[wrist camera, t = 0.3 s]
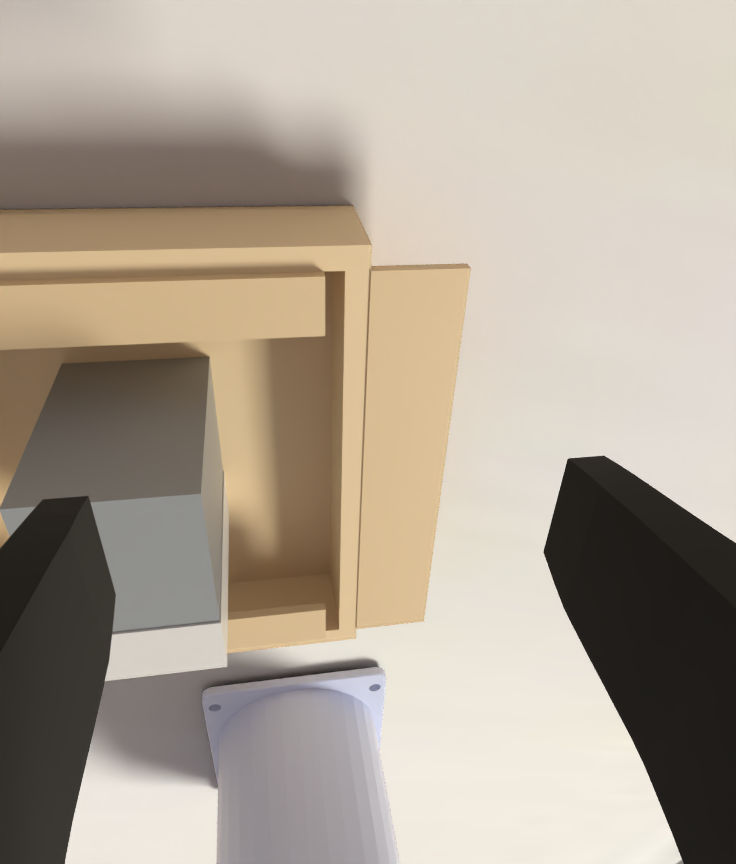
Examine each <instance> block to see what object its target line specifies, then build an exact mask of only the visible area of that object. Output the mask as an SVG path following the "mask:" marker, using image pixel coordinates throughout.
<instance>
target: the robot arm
mask: <svg viewBox="0 0 736 864" xmlns="http://www.w3.org/2000/svg"><path fill="white" fill-rule="evenodd" d="M544 554H545V557H546V560H547V563H548V566H549V569H550V572H551V575H552V578H553V580H554V583H555V586H556V589H557V591H558V594H559V596H560V599H561V602H562V604H563V607H564V609H565V611H566V613H567V615H568V617H569V619H570V621H571V623H572V625H573V627H574V629H575V631H576V633H577V635H578V637H579V639H580V641H581V643H582V645H583V647H584V649H585V651H586V652H587V654H588V656H589V658H590V660H591V662H592V664H593V666H594V668H595V670H596V672H597V673H598V675H599V677H600V679H601V681H602V683H603V685H604V687H605V689H606V691H607V692H608V694H609V696H610V698H611V700H612V702H613V704H614V706H615V708H616V710H617V711H618V713H619V715H620V717H621V719H622V721H623V723H624V725H625V727H626V729H627V731H628V732H629V734H630V736H631V738H632V740H633V742H634V745H635V747H636V749H637V751H638V753H639V755H640V757H641V759H642V761H643V763H644V766H645V768H646V770H647V773H648V775H649V778H650V780H651V782H652V785H653V787H654V790H655V792H656V795H657V797H658V800H659V802H660V805H661V807H662V809H663V812H664V814H665V817H666V819H667V822H668V824H669V827H670V829H671V831H672V834H673V837H674V839H675V842H676V845H677V847H678V850H679V852H680V855H681V858H682V860H683V863H684V864H736V543H735V542H733V541H732V540H730V539H729V538H727V537H726V536H724V535H722V534H721V533H719V532H718V531H716V530H715V529H713V528H712V527H710V526H709V525H707V524H706V523H704V522H703V521H701V520H700V519H698V518H697V517H696V516H694V515H693V514H691V513H690V512H688V511H687V510H685V509H684V508H682V507H681V506H679V505H678V504H676V503H675V502H673V501H672V500H671V499H669V498H668V497H666V496H665V495H663V494H662V493H660V492H659V491H657V490H656V489H654V488H653V487H652V486H650V485H649V484H647V483H646V482H644V481H643V480H641V479H640V478H638V477H637V476H635V475H634V474H632V473H631V472H629V471H628V470H626V469H625V468H623V467H622V466H620V465H618V464H617V463H615V462H614V461H612V460H610V459H609V458H607V457H605V456H595V457H582V458H569V459H568V460H567V464H566V468H565V472H564V476H563V479H562V483H561V487H560V491H559V495H558V499H557V502H556V506H555V510H554V514H553V518H552V521H551V525H550V529H549V533H548V537H547V541H546V544H545V548H544ZM115 599H116V593H115V590H114V586H113V582H112V579H111V575H110V571H109V568H108V564H107V561H106V557H105V553H104V550H103V546H102V543H101V539H100V535H99V532H98V528H97V525H96V521H95V517H94V514H93V510H92V506H91V503H90V499H89V496H80V497H67V498H54V499H43V500H42V501H41V502H40V503H39V504H38V505H37V506H36V507H35V508H34V510H33V511H32V512H31V513H30V514H29V515H28V516H27V517H26V519H25V520H24V521H23V522H22V523H21V524H20V526H19V527H18V528H17V529H16V530H15V531H14V533H13V534H12V535H11V536H10V537H9V538H8V540H7V541H6V542H5V543H4V544H3V546H2V547H1V548H0V864H65V858H66V852H67V847H68V842H69V837H70V831H71V826H72V821H73V816H74V812H75V808H76V804H77V799H78V795H79V791H80V786H81V782H82V778H83V773H84V769H85V765H86V760H87V756H88V752H89V747H90V743H91V739H92V735H93V730H94V726H95V722H96V717H97V713H98V709H99V704H100V700H101V695H102V691H103V686H104V682H105V678H106V673H107V668H108V664H109V658H110V649H111V640H112V631H113V620H114V610H115ZM385 687H386V675H385V671H384V670H383V669H382V668H379V667H371V668H363V669H355V670H347V671H338V672H330V673H322V674H314V675H306V676H297V677H289V678H281V679H273V680H265V681H256V682H248V683H240V684H232V685H224V686H215V687H210V688H208V689H206V690H204V692H203V693H202V706H203V711H204V716H205V721H206V726H207V731H208V737H209V742H210V747H211V752H212V757H213V763H214V768H215V773H216V778H217V783H218V819H217V864H400V860H399V854H398V849H397V843H396V838H395V832H394V827H393V822H392V816H391V811H390V805H389V800H388V794H387V789H386V783H385V778H384V772H383V767H382V761H381V756H380V743H381V732H382V721H383V709H384V698H385Z"/></svg>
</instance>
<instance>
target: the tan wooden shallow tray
mask: <svg viewBox="0 0 736 864" xmlns="http://www.w3.org/2000/svg"><path fill="white" fill-rule="evenodd" d="M371 254H372V244H371V242H370V240H369V238H368V236H367V234H366V232H365V230H364V228H363V225H362V223H361V221H360V219H359V217H358V215H357V213H356V211H355V209H354V207H353V205H339V206H256V207H173V208H91V209H8V210H0V506H1V504H2V502H3V499H4V497H5V495H6V492H7V490H8V488H9V485H10V483H11V481H12V478H13V476H14V474H15V471H16V469H17V467H18V464H19V462H20V460H21V457H22V455H23V453H24V450H25V448H26V446H27V443H28V441H29V439H30V436H31V434H32V432H33V429H34V427H35V425H36V422H37V420H38V418H39V415H40V413H41V411H42V408H43V406H44V404H45V401H46V399H47V397H48V394H49V392H50V390H51V387H52V385H53V383H54V380H55V378H56V376H57V373H58V371H59V369H60V366H61V364H63V363H85V362H107V361H128V360H150V359H171V358H193V357H210V364H211V372H212V381H213V389H214V398H215V406H216V415H217V423H218V431H219V440H220V448H221V457H222V465H223V471H224V474H225V483H226V491H227V500H228V508H229V554H228V645H227V653H234V652H243V651H252V650H261V649H269V648H278V647H287V646H295V645H304V644H313V643H322V642H330V641H339V640H348V639H356V629H360V628H369V627H378V626H386V625H395V624H404V623H413V622H422V621H424V615H425V608H426V600H427V592H428V585H429V577H430V570H431V562H432V555H433V547H434V540H435V532H436V525H437V517H438V510H439V502H440V495H441V487H442V480H443V472H444V465H445V457H446V450H447V442H448V435H449V427H450V420H451V412H452V405H453V397H454V390H455V382H456V375H457V367H458V360H459V352H460V344H461V337H462V329H463V322H464V314H465V307H466V299H467V292H468V284H469V277H470V269H471V268H470V267H469V266H468V264H434V265H396V266H371ZM9 537H10V536H9V533H8V531H7V528H6V526H5V523H4V521H3V518H2V515H1V513H0V548H1V547H2V546H3V544H4V543H5V542H6V541H7V540H8V538H9Z"/></svg>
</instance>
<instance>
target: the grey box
mask: <svg viewBox="0 0 736 864" xmlns="http://www.w3.org/2000/svg"><path fill="white" fill-rule="evenodd" d="M80 496H89V499H90V503H91V506H92V510H93V514H94V517H95V521H96V525H97V528H98V532H99V535H100V539H101V543H102V546H103V550H104V553H105V557H106V561H107V564H108V568H109V571H110V575H111V579H112V582H113V586H114V590H115V593H116V599H115V610H114V620H113V631H112V640H111V649H110V658H109V664H108V668H107V673H106V678H105V681H112V680H120V679H129V678H137V677H146V676H154V675H163V674H171V673H179V672H188V671H196V670H205V669H213V668H222V667H227V645H228V554H229V508H228V500H227V491H226V483H225V474H224V471H223V465H222V457H221V448H220V440H219V431H218V423H217V415H216V406H215V398H214V389H213V381H212V372H211V364H210V357H193V358H171V359H150V360H128V361H107V362H85V363H63V364H61V366H60V369H59V371H58V373H57V376H56V378H55V380H54V383H53V385H52V387H51V390H50V392H49V394H48V397H47V399H46V401H45V404H44V406H43V408H42V411H41V413H40V415H39V418H38V420H37V422H36V425H35V427H34V429H33V432H32V434H31V436H30V439H29V441H28V443H27V446H26V448H25V450H24V453H23V455H22V457H21V460H20V462H19V464H18V467H17V469H16V471H15V474H14V476H13V478H12V481H11V483H10V485H9V488H8V490H7V492H6V495H5V497H4V499H3V502H2V504H1V506H0V513H1V515H2V518H3V521H4V523H5V526H6V528H7V531H8V533H9V536H11V535H12V534H13V533H14V531H15V530H16V529H17V528H18V527H19V526H20V524H21V523H22V522H23V521H24V520H25V519H26V517H27V516H28V515H29V514H30V513H31V512H32V511H33V510H34V508H35V507H36V506H37V505H38V504H39V503H40V502H41V501H42V500H43V499H54V498H67V497H80Z"/></svg>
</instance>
